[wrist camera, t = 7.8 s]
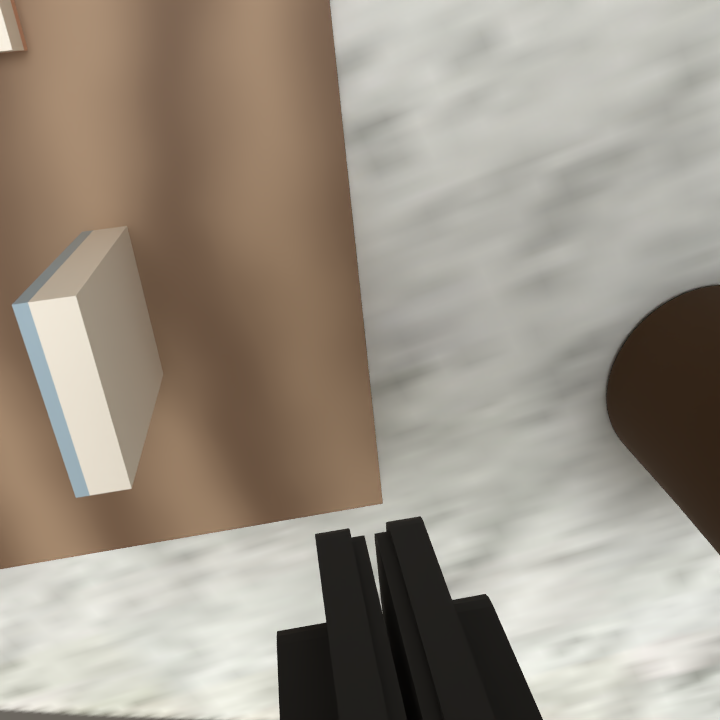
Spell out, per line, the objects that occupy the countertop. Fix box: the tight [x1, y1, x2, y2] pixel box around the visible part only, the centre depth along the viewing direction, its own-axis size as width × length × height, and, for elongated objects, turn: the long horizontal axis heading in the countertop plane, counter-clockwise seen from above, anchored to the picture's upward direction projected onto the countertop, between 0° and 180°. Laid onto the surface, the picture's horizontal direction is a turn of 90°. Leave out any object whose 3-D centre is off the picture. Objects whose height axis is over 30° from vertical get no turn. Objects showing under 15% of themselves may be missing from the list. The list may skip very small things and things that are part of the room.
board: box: [0, 0, 383, 569], centre depth 25 cm, size 24×30×2 cm
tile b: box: [12, 226, 163, 498], centre depth 22 cm, size 2×6×8 cm, turn 6°
